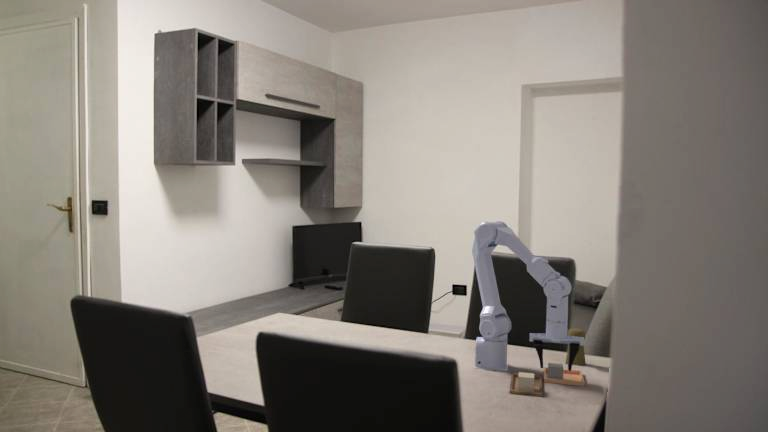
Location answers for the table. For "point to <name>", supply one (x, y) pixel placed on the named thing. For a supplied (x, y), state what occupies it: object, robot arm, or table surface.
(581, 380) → the terracotta dish
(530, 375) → the cream pedestal cube
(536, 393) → the walnut tray
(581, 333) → the cork
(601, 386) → the table surface
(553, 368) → the slate gray cube
